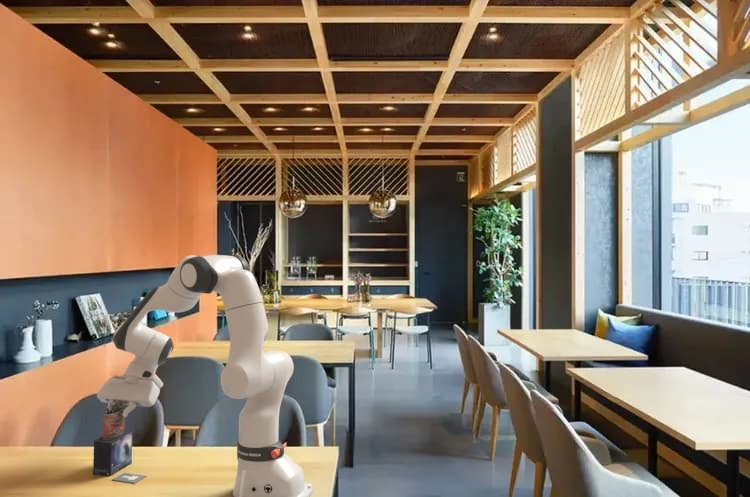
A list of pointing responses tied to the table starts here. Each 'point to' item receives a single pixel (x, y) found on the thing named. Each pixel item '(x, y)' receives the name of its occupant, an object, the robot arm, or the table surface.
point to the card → (129, 478)
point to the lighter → (113, 421)
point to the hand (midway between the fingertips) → (115, 415)
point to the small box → (112, 454)
